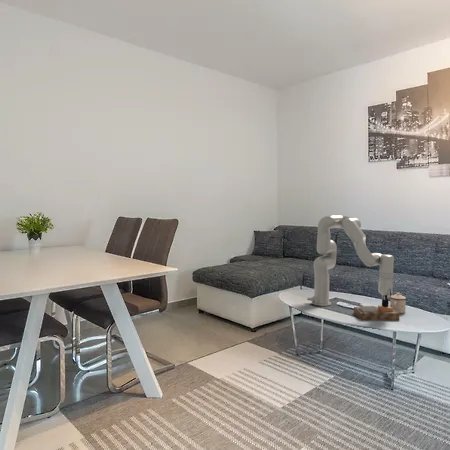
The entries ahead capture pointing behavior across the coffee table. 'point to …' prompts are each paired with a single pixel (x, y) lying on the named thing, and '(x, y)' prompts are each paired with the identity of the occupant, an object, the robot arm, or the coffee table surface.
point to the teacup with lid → (398, 303)
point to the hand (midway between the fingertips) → (385, 306)
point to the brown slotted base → (376, 314)
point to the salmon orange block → (385, 308)
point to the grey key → (366, 307)
